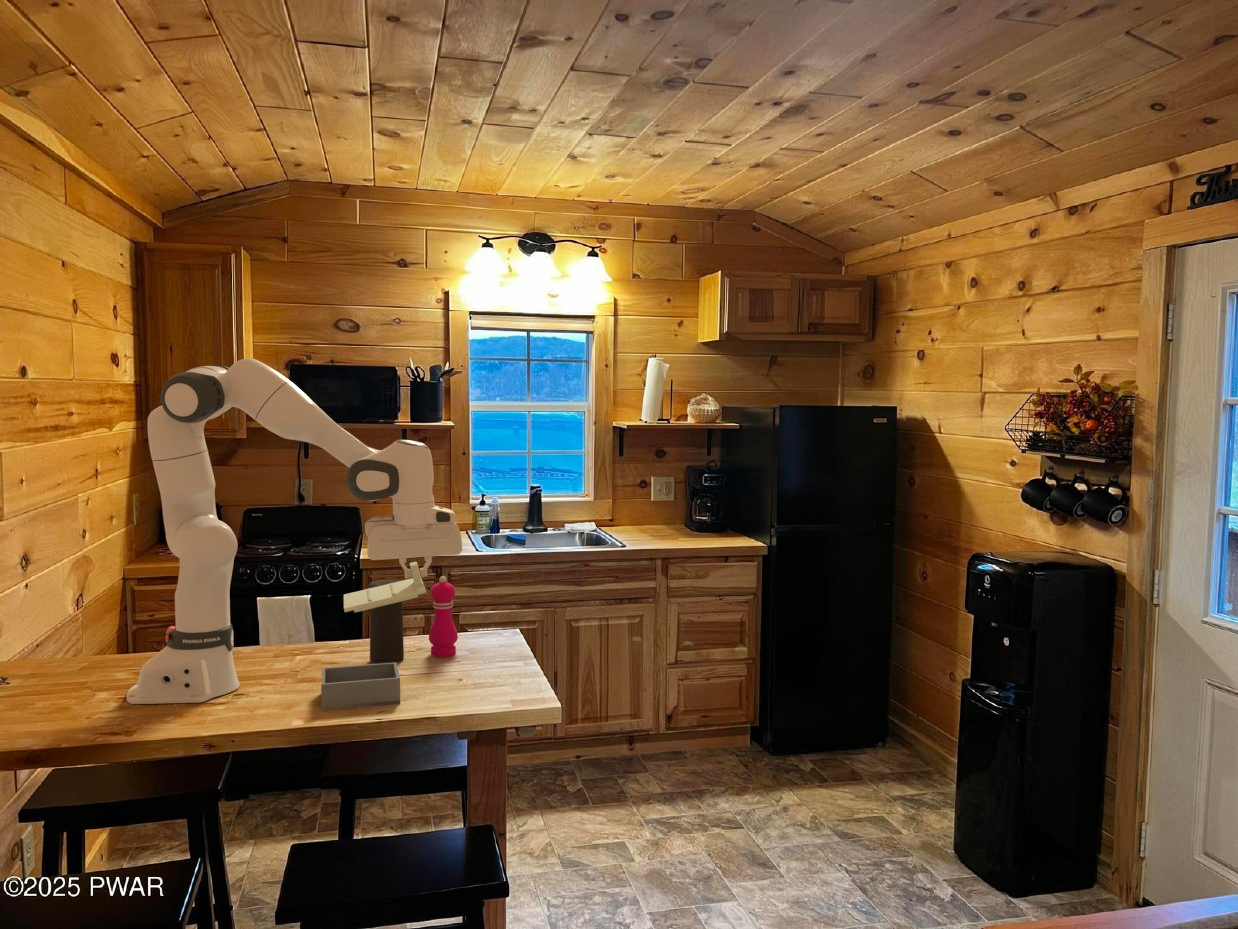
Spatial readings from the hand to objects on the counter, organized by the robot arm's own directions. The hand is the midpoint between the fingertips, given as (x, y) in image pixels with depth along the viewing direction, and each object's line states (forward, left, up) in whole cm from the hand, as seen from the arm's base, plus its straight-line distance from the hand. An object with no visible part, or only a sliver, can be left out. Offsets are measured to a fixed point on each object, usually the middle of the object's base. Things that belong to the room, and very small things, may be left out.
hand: (416, 577), depth 202 cm
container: (-5, +27, -26) cm, 38 cm away
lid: (-7, 0, -4) cm, 8 cm away
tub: (-12, 0, -26) cm, 29 cm away
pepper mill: (+9, +29, -26) cm, 40 cm away
